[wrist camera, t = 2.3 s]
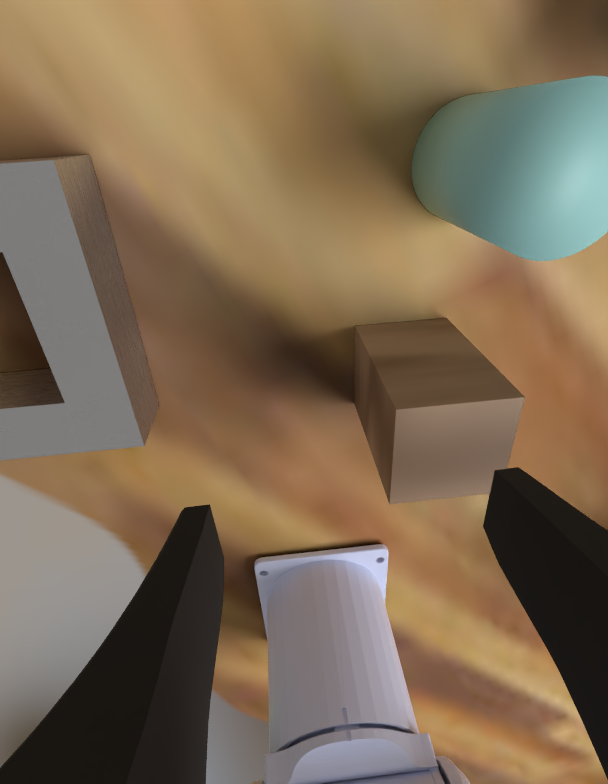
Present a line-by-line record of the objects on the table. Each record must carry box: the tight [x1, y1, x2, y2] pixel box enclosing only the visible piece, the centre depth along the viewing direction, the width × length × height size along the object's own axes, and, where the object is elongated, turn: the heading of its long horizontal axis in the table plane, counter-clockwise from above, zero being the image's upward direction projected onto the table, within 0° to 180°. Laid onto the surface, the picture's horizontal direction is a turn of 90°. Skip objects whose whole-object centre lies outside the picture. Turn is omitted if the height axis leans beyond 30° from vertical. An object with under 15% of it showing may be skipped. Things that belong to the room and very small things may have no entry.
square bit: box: [355, 318, 525, 504], centre depth 17 cm, size 4×4×6 cm
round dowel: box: [411, 76, 608, 261], centre depth 13 cm, size 4×4×6 cm
